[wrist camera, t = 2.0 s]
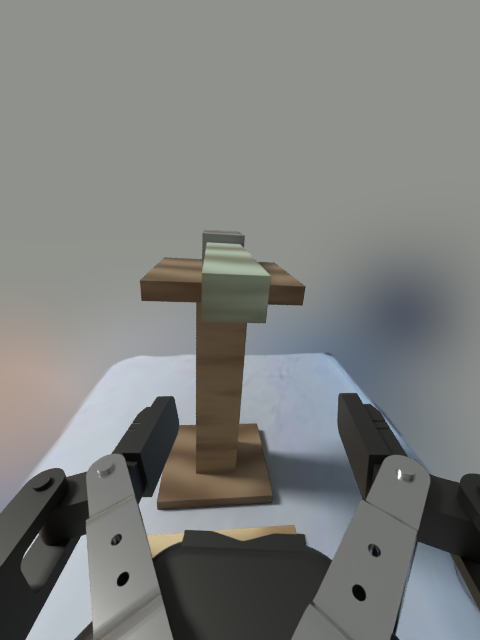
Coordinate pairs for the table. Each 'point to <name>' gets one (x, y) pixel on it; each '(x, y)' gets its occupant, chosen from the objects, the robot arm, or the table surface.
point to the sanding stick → (232, 280)
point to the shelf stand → (215, 399)
